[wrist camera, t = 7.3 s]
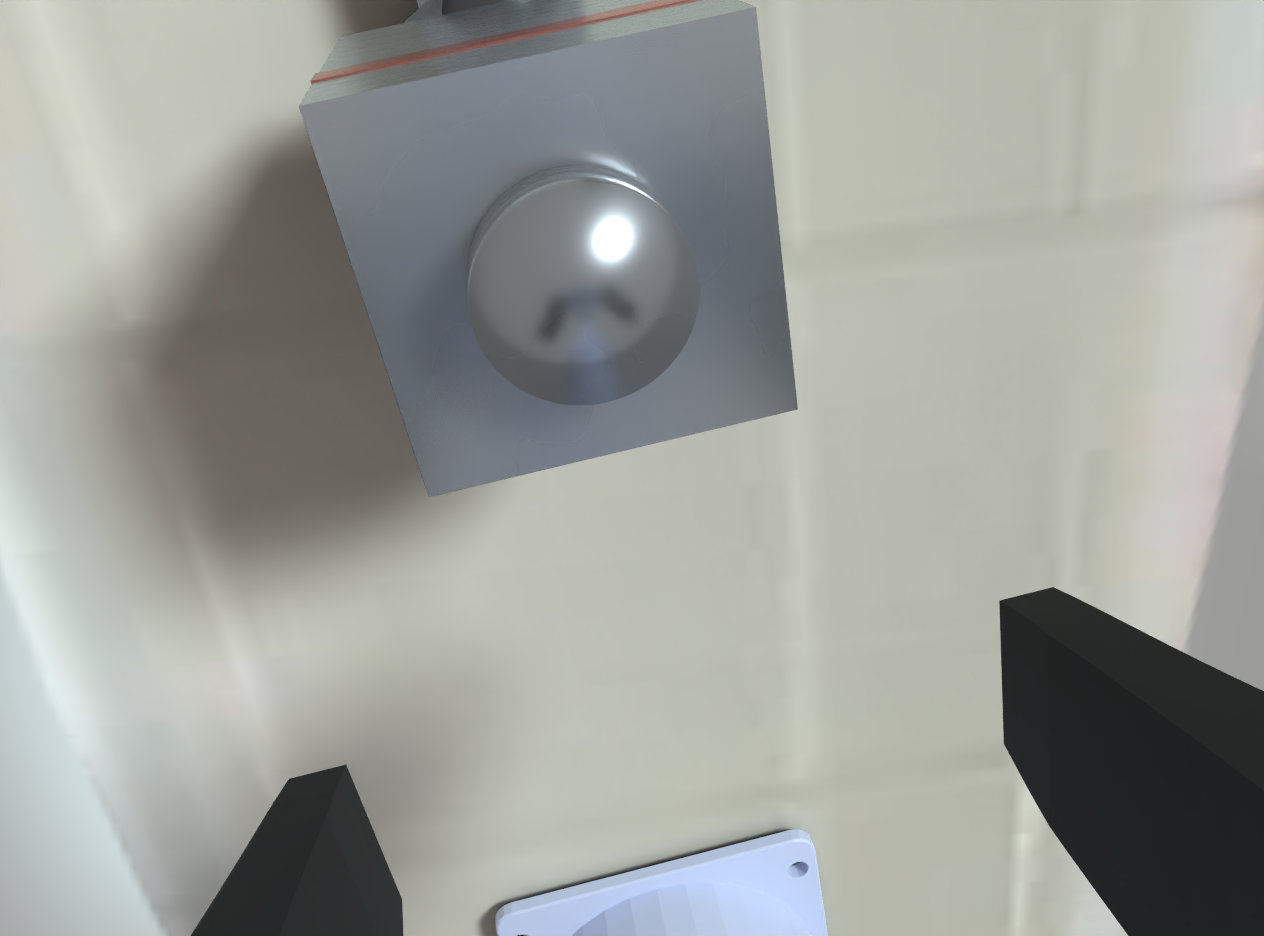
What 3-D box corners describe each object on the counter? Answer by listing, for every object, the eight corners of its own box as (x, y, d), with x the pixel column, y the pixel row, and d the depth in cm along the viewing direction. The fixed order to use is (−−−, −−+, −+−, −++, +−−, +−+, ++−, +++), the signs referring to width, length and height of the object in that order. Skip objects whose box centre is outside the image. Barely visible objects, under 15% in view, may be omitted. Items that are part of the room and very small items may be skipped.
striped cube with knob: (704, 272, 17) (820, 440, 12) (430, 334, 17) (426, 535, 12) (660, -34, 15) (780, 12, 10) (339, 34, 14) (285, 121, 9)
